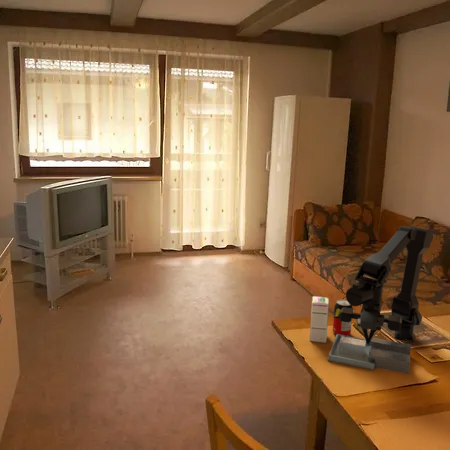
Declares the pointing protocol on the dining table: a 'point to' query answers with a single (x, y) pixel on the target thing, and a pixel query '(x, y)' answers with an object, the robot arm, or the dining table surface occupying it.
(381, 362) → the slot plate
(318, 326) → the syrup box
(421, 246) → the robot arm
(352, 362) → the tray
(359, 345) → the grey cubic piece
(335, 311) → the beverage can
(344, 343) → the brushed metal cube
